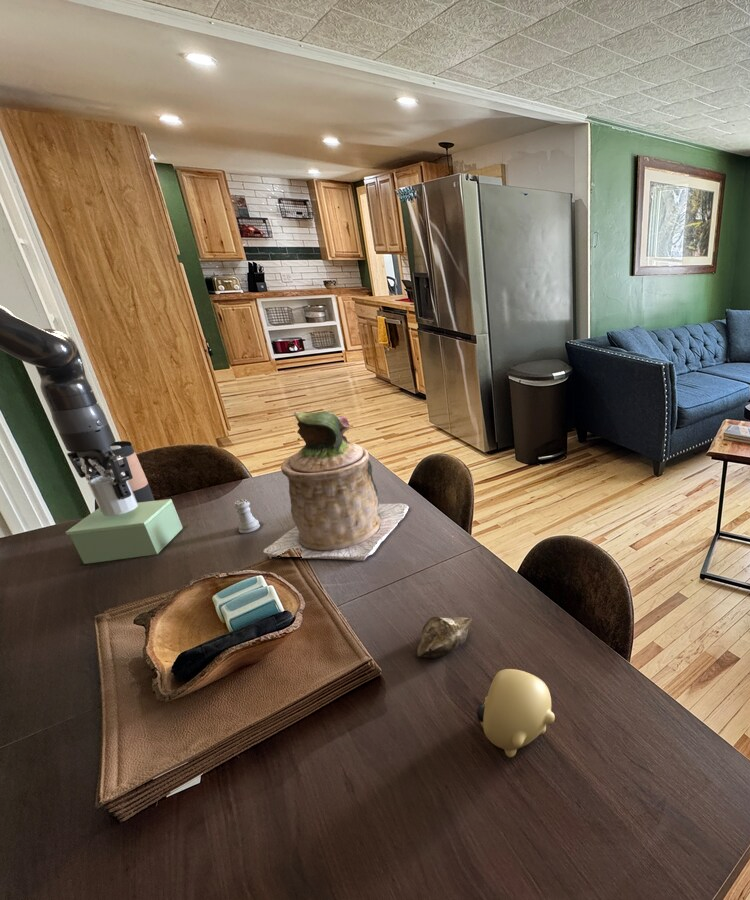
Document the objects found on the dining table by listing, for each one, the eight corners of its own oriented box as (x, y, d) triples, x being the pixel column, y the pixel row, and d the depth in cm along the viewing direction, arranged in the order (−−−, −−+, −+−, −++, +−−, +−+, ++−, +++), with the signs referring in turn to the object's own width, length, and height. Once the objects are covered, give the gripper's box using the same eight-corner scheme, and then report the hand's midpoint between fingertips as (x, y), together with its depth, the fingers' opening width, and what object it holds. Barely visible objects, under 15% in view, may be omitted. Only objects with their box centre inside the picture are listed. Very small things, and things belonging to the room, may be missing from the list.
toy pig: (542, 727, 73) (514, 661, 76) (575, 722, 64) (541, 647, 67) (485, 768, 67) (456, 694, 70) (512, 767, 58) (478, 684, 61)
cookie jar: (369, 563, 106) (339, 430, 94) (261, 561, 106) (217, 428, 94) (412, 508, 129) (392, 395, 116) (323, 507, 129) (294, 394, 117)
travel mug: (113, 522, 122) (80, 450, 114) (145, 507, 129) (116, 439, 121) (135, 526, 120) (103, 453, 112) (167, 511, 127) (139, 442, 119)
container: (84, 565, 105) (69, 535, 102) (117, 537, 115) (104, 509, 112) (157, 555, 108) (145, 526, 105) (183, 529, 119) (172, 501, 116)
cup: (96, 517, 105) (81, 485, 102) (113, 505, 110) (99, 474, 107) (128, 514, 106) (114, 482, 103) (143, 501, 111) (130, 471, 108)
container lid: (66, 535, 102) (64, 532, 102) (101, 509, 112) (100, 506, 112) (145, 525, 105) (143, 522, 105) (172, 501, 116) (171, 498, 115)
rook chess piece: (262, 523, 121) (254, 496, 118) (258, 532, 117) (249, 504, 114) (242, 526, 120) (232, 499, 117) (236, 535, 116) (227, 507, 113)
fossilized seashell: (426, 666, 77) (482, 643, 83) (419, 624, 77) (475, 606, 84) (411, 662, 82) (465, 641, 89) (404, 623, 83) (458, 606, 90)
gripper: (36, 429, 98) (70, 499, 105) (86, 435, 95) (118, 507, 102) (80, 417, 105) (110, 485, 112) (128, 423, 102) (156, 492, 108)
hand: (114, 495), depth 107 cm, fingers closed on cup, 6 cm apart
